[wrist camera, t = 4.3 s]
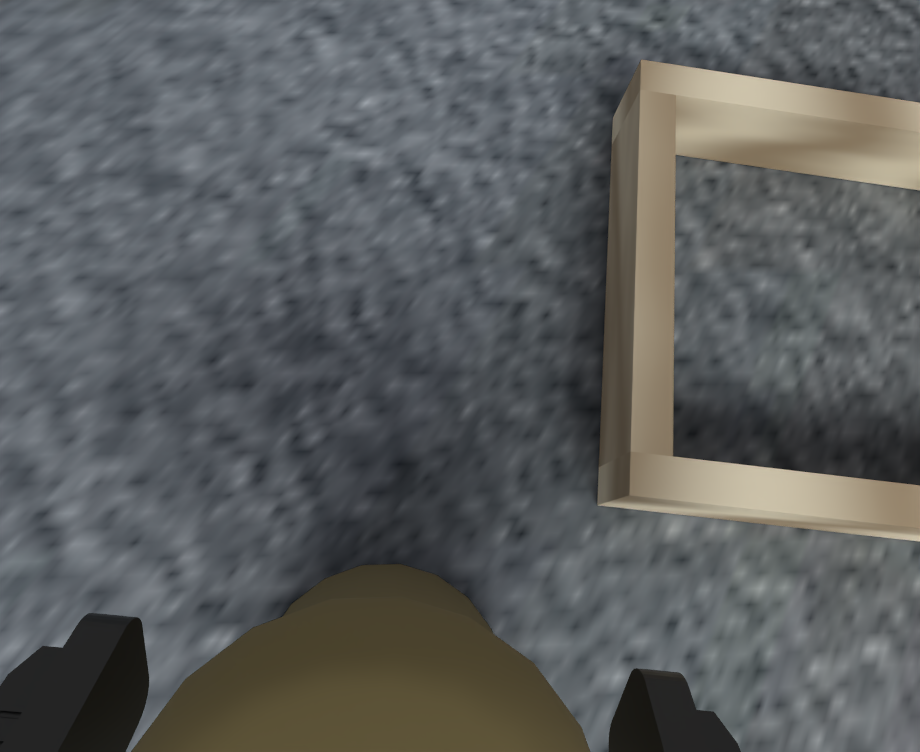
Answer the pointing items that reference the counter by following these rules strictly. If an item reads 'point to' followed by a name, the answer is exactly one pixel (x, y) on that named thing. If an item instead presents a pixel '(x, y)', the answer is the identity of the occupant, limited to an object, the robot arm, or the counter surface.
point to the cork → (368, 679)
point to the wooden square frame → (652, 285)
